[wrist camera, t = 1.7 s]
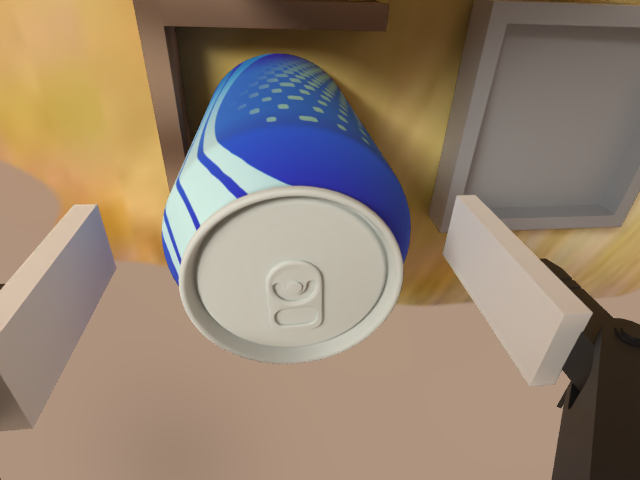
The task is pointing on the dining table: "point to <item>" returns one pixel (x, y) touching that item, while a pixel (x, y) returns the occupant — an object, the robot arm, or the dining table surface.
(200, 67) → the dining table surface
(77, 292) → the robot arm
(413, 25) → the dining table surface
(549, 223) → the tray
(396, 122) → the dining table surface
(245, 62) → the beer can
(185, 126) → the frame
